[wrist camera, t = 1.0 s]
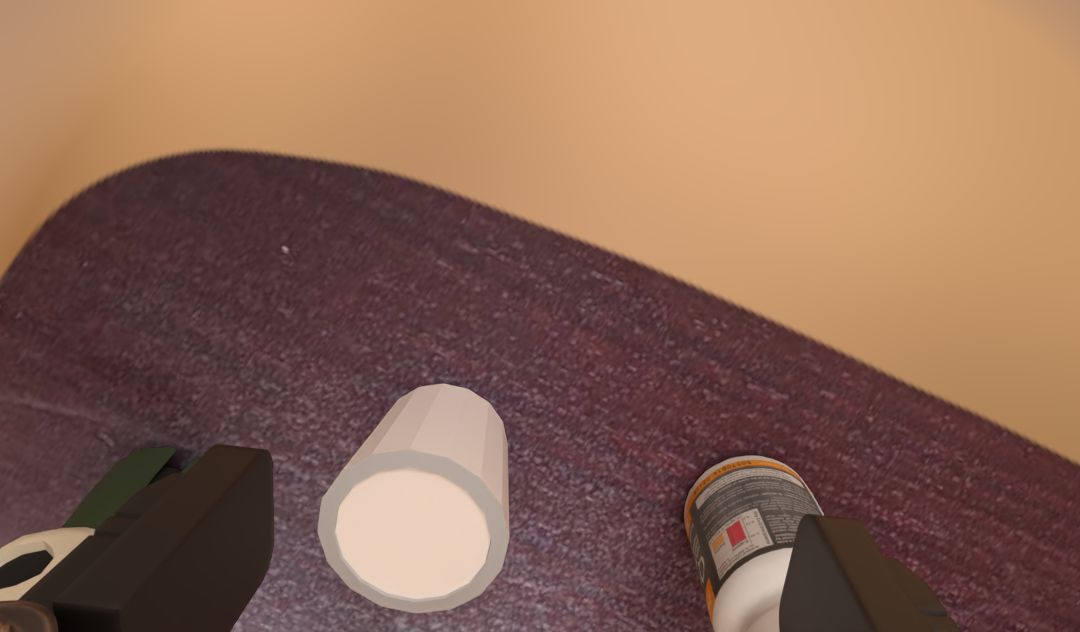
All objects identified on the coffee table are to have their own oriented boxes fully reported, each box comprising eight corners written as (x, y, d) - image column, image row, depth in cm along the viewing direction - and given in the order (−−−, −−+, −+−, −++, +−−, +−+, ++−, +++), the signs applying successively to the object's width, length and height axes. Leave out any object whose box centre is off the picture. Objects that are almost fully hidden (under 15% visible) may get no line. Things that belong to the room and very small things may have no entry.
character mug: (311, 478, 33) (158, 719, 21) (272, 595, 35) (112, 877, 23) (77, 394, 32) (-229, 595, 20) (52, 521, 34) (-238, 772, 22)
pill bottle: (655, 506, 33) (690, 681, 23) (751, 425, 31) (830, 576, 22) (740, 580, 34) (806, 774, 24) (836, 505, 32) (946, 682, 23)
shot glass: (553, 445, 32) (549, 543, 25) (446, 533, 34) (416, 646, 27) (442, 339, 31) (406, 412, 24) (336, 437, 32) (276, 531, 26)
